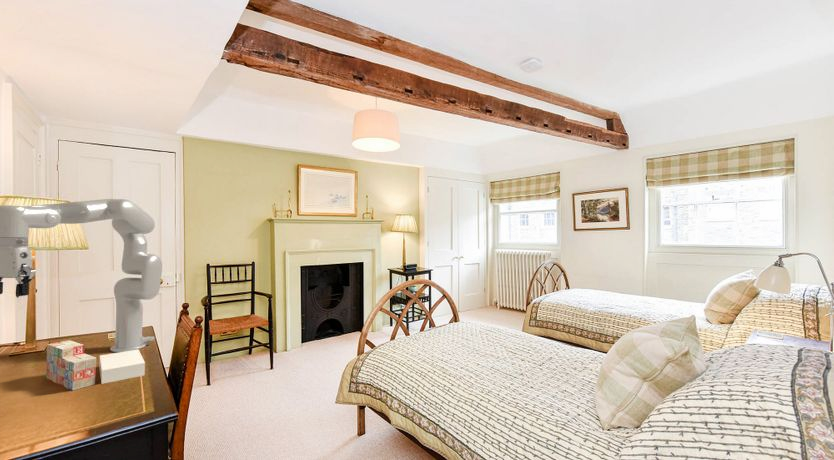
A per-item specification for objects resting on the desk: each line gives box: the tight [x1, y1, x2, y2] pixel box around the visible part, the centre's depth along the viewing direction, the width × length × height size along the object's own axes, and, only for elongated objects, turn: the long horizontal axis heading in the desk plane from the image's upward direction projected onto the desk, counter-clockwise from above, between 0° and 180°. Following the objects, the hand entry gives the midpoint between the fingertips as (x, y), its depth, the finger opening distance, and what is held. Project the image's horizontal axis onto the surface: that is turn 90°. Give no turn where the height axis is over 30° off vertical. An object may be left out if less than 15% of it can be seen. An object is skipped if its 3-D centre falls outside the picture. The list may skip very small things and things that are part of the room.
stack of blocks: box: [45, 339, 97, 391], centre depth 127 cm, size 21×6×12 cm, turn 62°
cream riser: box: [98, 349, 146, 385], centre depth 137 cm, size 12×20×5 cm, turn 43°
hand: (9, 295), depth 119 cm, fingers open, 9 cm apart
